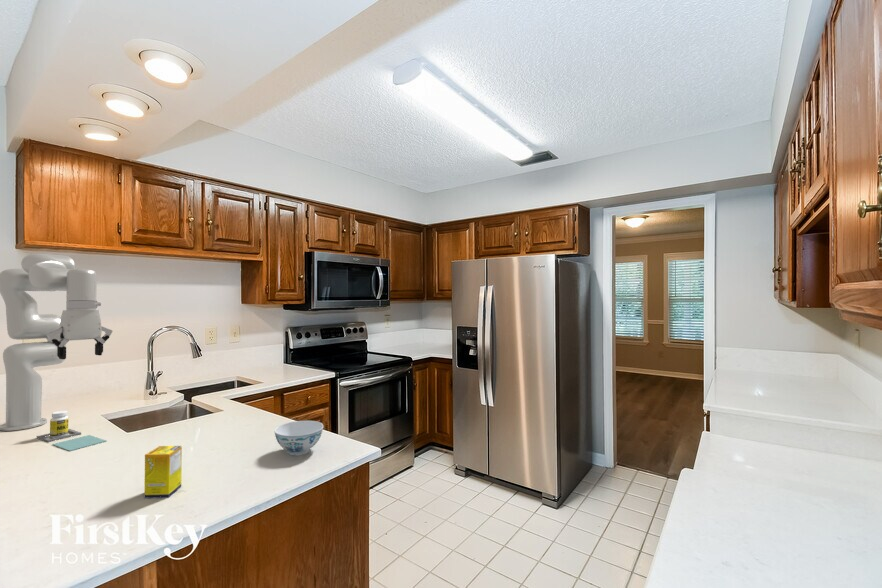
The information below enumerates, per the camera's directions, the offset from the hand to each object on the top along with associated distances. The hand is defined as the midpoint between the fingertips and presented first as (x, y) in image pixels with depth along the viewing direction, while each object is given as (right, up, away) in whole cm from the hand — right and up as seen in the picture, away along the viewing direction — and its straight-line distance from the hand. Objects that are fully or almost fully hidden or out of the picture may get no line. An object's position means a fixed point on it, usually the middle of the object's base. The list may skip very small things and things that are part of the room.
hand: (80, 356), depth 135 cm
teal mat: (-2, -30, +2) cm, 30 cm away
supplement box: (+50, -30, -32) cm, 66 cm away
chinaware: (+75, -30, -4) cm, 81 cm away
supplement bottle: (-15, -30, +8) cm, 34 cm away
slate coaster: (-15, -30, +8) cm, 34 cm away
